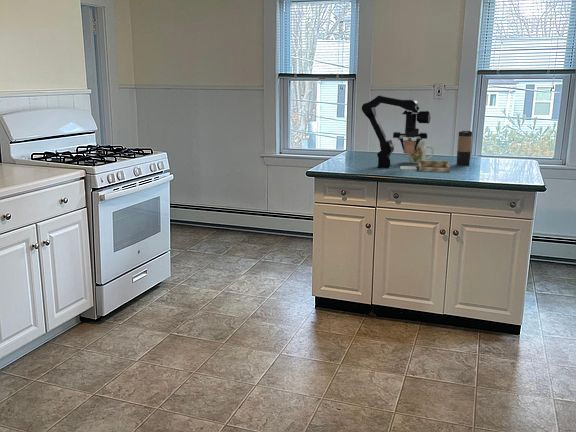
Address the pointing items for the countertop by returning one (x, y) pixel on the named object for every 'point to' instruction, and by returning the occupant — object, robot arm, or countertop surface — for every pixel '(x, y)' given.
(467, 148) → the travel mug
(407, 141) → the pot
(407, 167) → the tile
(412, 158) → the pitcher
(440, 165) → the wooden tray
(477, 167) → the countertop surface
